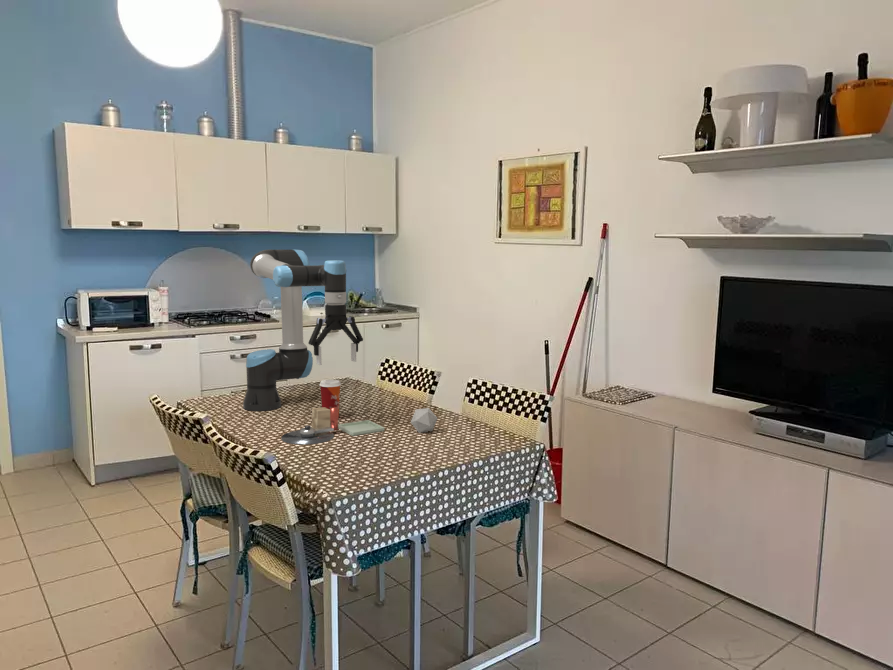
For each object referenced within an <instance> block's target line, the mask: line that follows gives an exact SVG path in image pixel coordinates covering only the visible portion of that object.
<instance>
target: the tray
mask: <svg viewBox="0 0 893 670" xmlns="http://www.w3.org/2000/svg"><path fill="white" fill-rule="evenodd" d="M338 430H341V431H342V432H344V433H346V434H348V436H349V435H350V436H351V437H357V436H363V435H368V434H375V433H376V434H377V433H380V432H381V433H382V432H385V427H384V426H382V425H380V424H378V423H377V422H374V421H372V420H369V419H364V420H359V421H353V422H345V423H338Z"/></svg>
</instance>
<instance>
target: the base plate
mask: <svg viewBox="0 0 893 670" xmlns="http://www.w3.org/2000/svg"><path fill="white" fill-rule="evenodd" d="M304 428H305V429H311V428H312V425H304ZM334 437H335V434H334V433H333V431H329V432H323V433H316V434H315V436H313V437H301V435H300V429H297V430H291V431H289V432H286V433H284V434H283V435H282V436H281V438H280V439H281V441H282V442H284V443H286V444H292V445H298V446H299V445H300V446H302V445H303V446H305V445H306V446H307V445H317V444H321V443H327V442H329V441H331V440H333V439H334Z"/></svg>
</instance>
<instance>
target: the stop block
mask: <svg viewBox="0 0 893 670" xmlns="http://www.w3.org/2000/svg"><path fill="white" fill-rule="evenodd" d="M311 412H312V413H311V428H315V429H318V428H324V427H330V409H327V408H322V407H313V408H311Z"/></svg>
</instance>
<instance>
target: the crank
mask: <svg viewBox="0 0 893 670" xmlns="http://www.w3.org/2000/svg"><path fill="white" fill-rule="evenodd" d="M338 424H339V419H338V407H330V427H324V428H318V429H315V428H312V427H311V429H305V427H302V428H300V429H299V430H300V435H301V437H313V436H315V434H316V433H323V432H333V431H335V432H337V431H339V428H338Z"/></svg>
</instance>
